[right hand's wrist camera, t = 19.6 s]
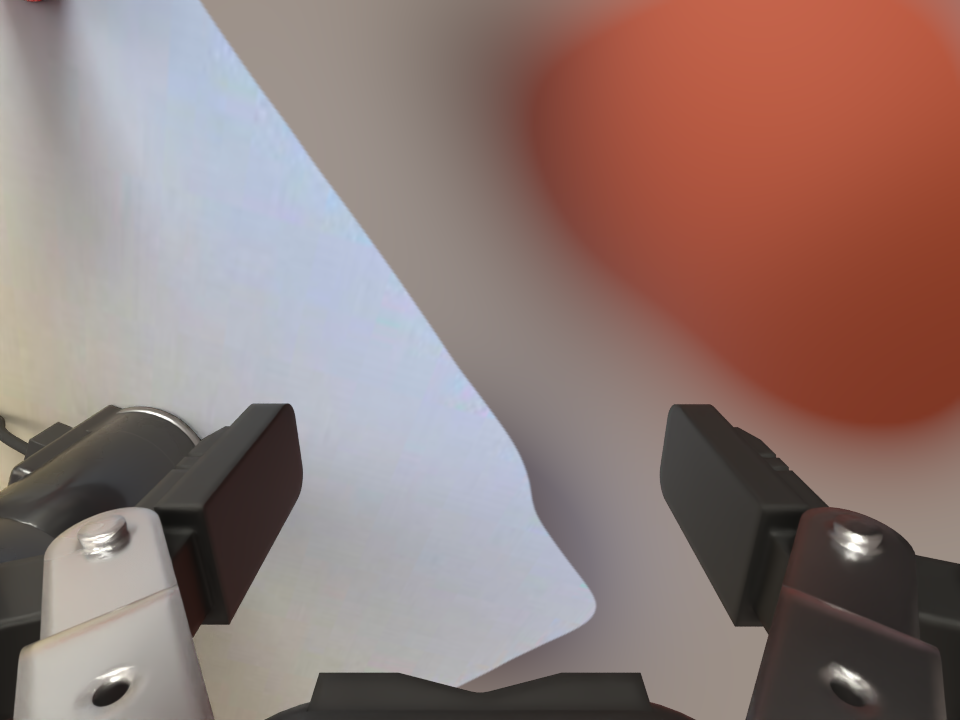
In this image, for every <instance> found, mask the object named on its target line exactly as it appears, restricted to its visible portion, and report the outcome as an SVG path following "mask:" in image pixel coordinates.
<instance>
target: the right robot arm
mask: <svg viewBox="0 0 960 720" xmlns="http://www.w3.org/2000/svg"><path fill="white" fill-rule="evenodd" d="M0 441H2V442H3V443H5V444H6V445H8V446H10V447H11V448H13V449H15V450H17V451H18V452H20V453H22V454H24V455H25V458H24V461H22V462H21V463H19V464H18V465H16V466H15V467H14V468H13V470H12V472H11V475H10V479H9V482H8V486H7V488H5V489H4V490H2V491H1V492H0V720H214V716H213V713H212V709H211V705H210V702H209V698H208V694H207V691H206V687H205V683H204V680H203V676H202V672H201V669H200V665H199V661H198V658H197V654H196V650H195V646H194V643H193V639H192V638H193V637H194V635H195V634H196V632H197V630H198V629H199V627H200V625H229V624H230V622H231V620H232V618H233V617H234V615H235V613H236V611H237V609H238V607H239V606H240V604H241V602H242V600H243V598H244V596H245V595H246V593H247V591H248V589H249V587H250V585H251V584H252V582H253V580H254V578H255V576H256V574H257V573H258V571H259V569H260V567H261V565H262V563H263V562H264V560H265V558H266V556H267V554H268V552H269V551H270V549H271V547H272V545H273V543H274V541H275V540H276V538H277V536H278V534H279V532H280V530H281V529H282V527H283V525H284V523H285V521H286V519H287V517H288V516H289V514H290V512H291V510H292V508H293V506H294V505H295V503H296V501H297V499H298V497H299V495H300V491H301V487H302V480H303V468H302V460H301V453H300V446H299V439H298V432H297V426H296V419H295V413H294V410H293V408H292V406H291V405H290V404H251V405H250V406H249V407H248V408H247V409H246V410H245V411H244V412H243V413H242V414H241V415H240V416H239V417H238V418H237V420H236V421H235V422H234V423H233V424H232V425H231V426H225V427H223V428H222V429H220V430H218V431H216V432H214V433H213V434H211V435H209V436H207V437H205V438H204V439H202V440H201V441H200V439H199V438H198V436H197V435H196V434H195V432H194V431H193V430H192V429H191V428H190V427H189V426H188V425H186V424H185V423H184V422H183V421H181V420H180V419H178V418H177V417H175V416H173V415H171V414H169V413H167V412H164V411H162V410H159V409H155V408H150V407H129V408H125V409H120V408H117V407H115V406H112V405H108V406H107V407H105V408H104V409H102V410H101V411H99V412H98V413H96V414H94V415H93V416H91V417H90V418H88V419H87V420H85V421H84V422H82V423H81V424H79V425H78V426H76V427H74V428H72V427H69V426H67V425H65V424H62V423H60V422H57V423H56V424H54V425H53V426H51V427H49V428H48V429H46V430H44V431H43V432H41V433H40V434H38V435H36V436H35V437H33V438H31V439H30V440H29V443H26V442H25V441H23V440H21V439H19V438H18V437H16V436H14V435H13V434H11V433H10V432H9V431H8V430H7V429H6V428H5V419H4V418H3V417H1V416H0ZM660 484H661V489H662V493H663V496H664V499H665V501H666V502H667V504H668V506H669V508H670V509H671V511H672V513H673V515H674V517H675V519H676V520H677V522H678V524H679V526H680V528H681V530H682V531H683V533H684V535H685V537H686V539H687V540H688V542H689V544H690V546H691V548H692V549H693V551H694V553H695V555H696V557H697V559H698V560H699V562H700V564H701V566H702V568H703V569H704V571H705V573H706V575H707V577H708V579H709V580H710V582H711V584H712V586H713V588H714V589H715V591H716V593H717V595H718V597H719V598H720V600H721V602H722V604H723V606H724V608H725V609H726V611H727V613H728V615H729V617H730V618H731V620H732V622H733V624H734V626H764V628H765V630H766V631H767V633H768V639H767V643H766V647H765V650H764V654H763V658H762V661H761V665H760V669H759V672H758V676H757V680H756V683H755V687H754V691H753V694H752V698H751V702H750V705H749V709H748V713H747V716H746V720H960V564H957V563H952V562H947V561H942V560H937V559H933V558H928V557H922V556H918V555H915V552H914V550H913V548H912V546H911V545H910V544H909V543H908V542H907V541H906V540H905V539H904V538H903V537H902V536H901V535H900V534H898V533H897V532H896V531H894V530H893V529H891V528H890V527H888V526H887V525H885V524H883V523H881V522H879V521H877V520H875V519H873V518H870V517H868V516H866V515H863V514H860V513H857V512H853V511H850V510H845V509H840V508H832V507H829V506H828V505H827V504H825V502H823V501H822V500H821V499H820V498H819V497H818V496H817V495H816V494H815V493H814V492H813V491H812V490H811V489H810V488H809V487H808V486H807V485H806V484H805V483H804V482H803V481H802V480H801V479H800V478H799V477H798V476H797V475H796V474H795V473H794V472H793V471H789V467H788V466H787V465H786V464H785V463H784V462H783V461H782V460H781V459H780V458H776V454H775V453H774V452H773V451H772V450H770V448H769V447H768V446H766V445H765V444H764V443H763V442H762V441H761V440H760V439H758V438H756V437H755V436H753V435H751V434H749V433H747V432H746V431H744V430H742V429H740V428H738V427H733V426H732V425H731V424H730V423H729V422H728V421H727V420H726V419H725V418H724V417H723V416H722V415H721V414H720V413H719V412H718V411H717V410H716V409H715V408H714V407H713V406H712V405H710V404H674V405H673V406H672V407H671V408H670V410H669V413H668V418H667V425H666V432H665V439H664V446H663V452H662V459H661V466H660ZM265 720H695V719H693V718H691V717H689V716H687V715H685V714H683V713H680V712H678V711H675V710H673V709H670V708H667V707H664V706H662V705H659V704H655V703H651V702H649V698H648V695H647V692H646V689H645V686H644V682H643V679H642V676H641V673H559V674H555V675H551V676H547V677H544V678H540V679H536V680H532V681H528V682H524V683H520V684H517V685H513V686H509V687H505V688H501V689H497V690H493V691H489V692H484V693H476V692H471V691H467V690H463V689H459V688H455V687H451V686H447V685H444V684H440V683H436V682H432V681H428V680H424V679H420V678H417V677H413V676H409V675H405V674H401V673H319V676H318V679H317V682H316V686H315V689H314V692H313V695H312V698H311V701H310V702H309V703H305V704H301V705H298V706H296V707H293V708H290V709H287V710H285V711H282V712H279V713H277V714H275V715H273V716H271V717H269V718H267V719H265Z"/></svg>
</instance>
